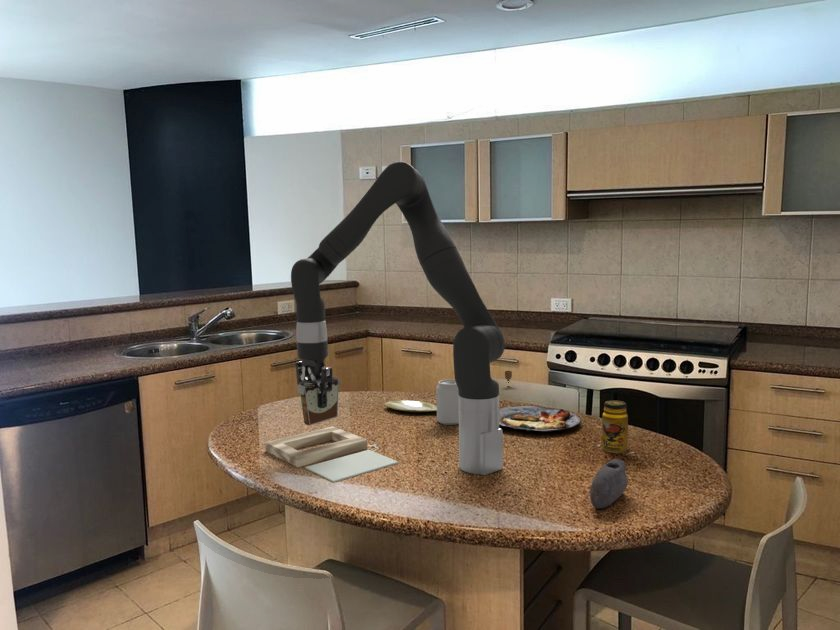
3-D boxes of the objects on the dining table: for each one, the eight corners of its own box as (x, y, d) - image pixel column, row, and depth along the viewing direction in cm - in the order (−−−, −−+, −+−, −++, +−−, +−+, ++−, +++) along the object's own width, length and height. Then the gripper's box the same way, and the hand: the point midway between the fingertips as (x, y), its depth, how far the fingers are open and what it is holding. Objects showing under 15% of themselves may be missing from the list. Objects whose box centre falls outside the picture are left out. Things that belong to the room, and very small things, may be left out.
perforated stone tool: (605, 517, 128) (606, 482, 127) (579, 511, 131) (579, 477, 130) (632, 492, 140) (633, 459, 139) (608, 486, 143) (608, 455, 142)
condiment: (604, 455, 163) (605, 406, 161) (594, 443, 171) (595, 397, 169) (634, 454, 163) (635, 405, 161) (623, 443, 171) (623, 396, 170)
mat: (398, 463, 159) (398, 461, 159) (333, 483, 148) (333, 480, 148) (368, 451, 168) (368, 449, 168) (305, 468, 157) (305, 466, 157)
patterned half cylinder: (325, 412, 176) (323, 374, 175) (341, 415, 172) (340, 377, 171) (288, 423, 166) (286, 383, 165) (304, 427, 162) (302, 386, 161)
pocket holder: (367, 448, 170) (367, 439, 170) (297, 467, 158) (297, 457, 157) (333, 434, 183) (332, 426, 182) (265, 451, 170) (265, 442, 170)
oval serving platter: (498, 416, 198) (498, 409, 198) (484, 425, 189) (484, 418, 189) (395, 403, 215) (395, 397, 215) (378, 411, 206) (378, 404, 205)
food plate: (589, 419, 194) (589, 407, 193) (567, 442, 173) (568, 429, 173) (506, 410, 205) (506, 398, 205) (477, 430, 185) (477, 418, 184)
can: (467, 420, 193) (467, 379, 192) (455, 427, 187) (454, 385, 186) (445, 417, 197) (444, 377, 196) (432, 423, 191) (431, 382, 190)
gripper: (340, 340, 163) (343, 407, 165) (310, 334, 174) (313, 397, 176) (314, 344, 159) (317, 413, 161) (284, 338, 170) (287, 402, 172)
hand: (315, 405), depth 169 cm, fingers closed on patterned half cylinder, 6 cm apart
